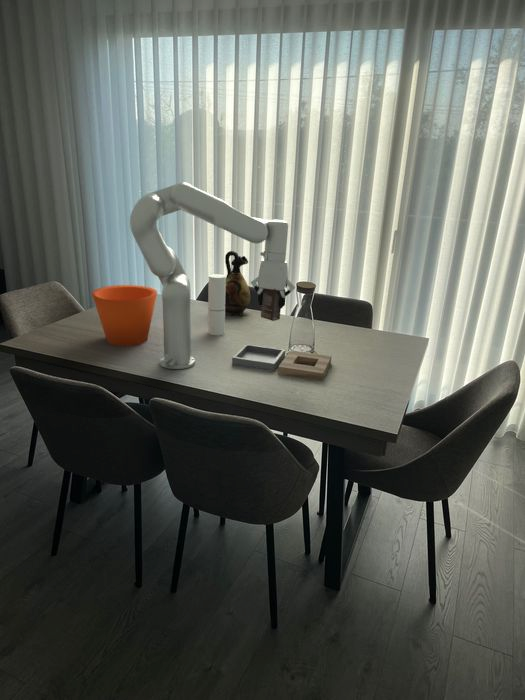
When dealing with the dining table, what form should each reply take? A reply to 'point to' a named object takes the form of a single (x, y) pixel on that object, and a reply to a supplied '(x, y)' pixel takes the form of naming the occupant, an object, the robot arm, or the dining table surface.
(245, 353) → the tray
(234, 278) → the ceramic jug
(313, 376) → the socket board
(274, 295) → the box
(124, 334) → the flowerpot
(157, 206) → the robot arm
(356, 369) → the dining table surface
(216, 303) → the cylindrical container
